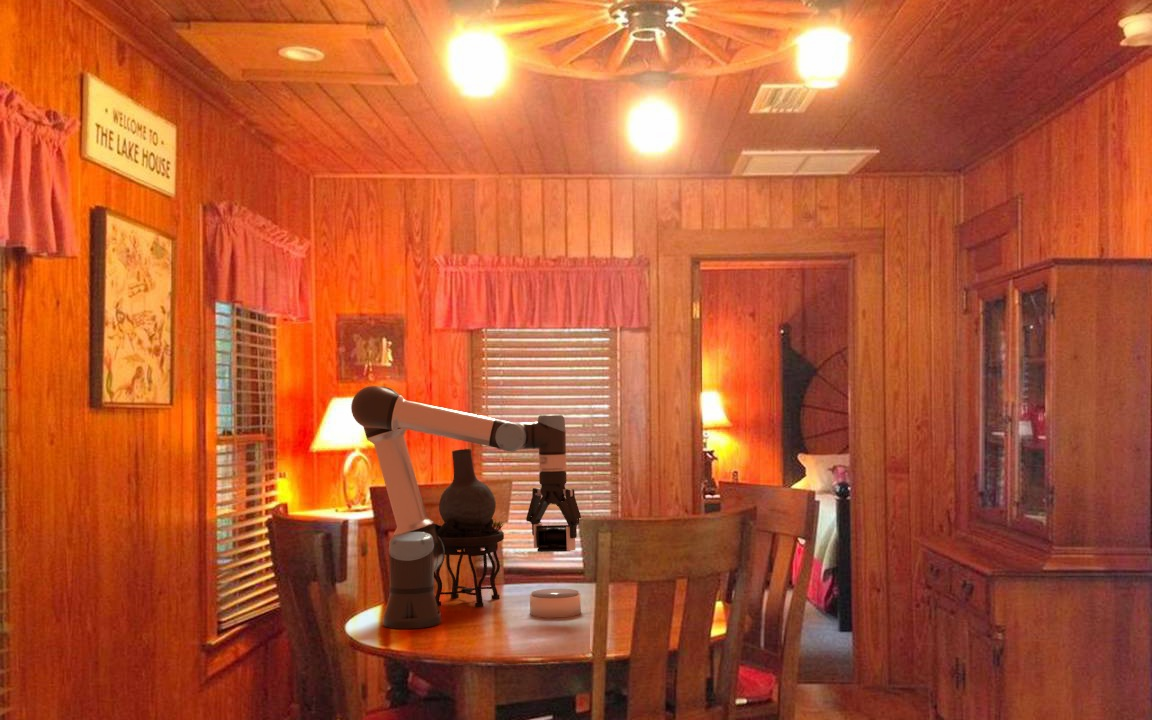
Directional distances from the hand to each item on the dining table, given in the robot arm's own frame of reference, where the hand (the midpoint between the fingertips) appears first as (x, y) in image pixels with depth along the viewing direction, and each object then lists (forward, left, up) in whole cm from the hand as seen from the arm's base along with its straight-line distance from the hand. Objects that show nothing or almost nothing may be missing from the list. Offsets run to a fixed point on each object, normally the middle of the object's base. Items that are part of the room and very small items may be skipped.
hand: (554, 549), depth 293 cm
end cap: (0, 0, 0) cm, 0 cm away
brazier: (-34, -2, -18) cm, 38 cm away
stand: (0, 0, -17) cm, 17 cm away
